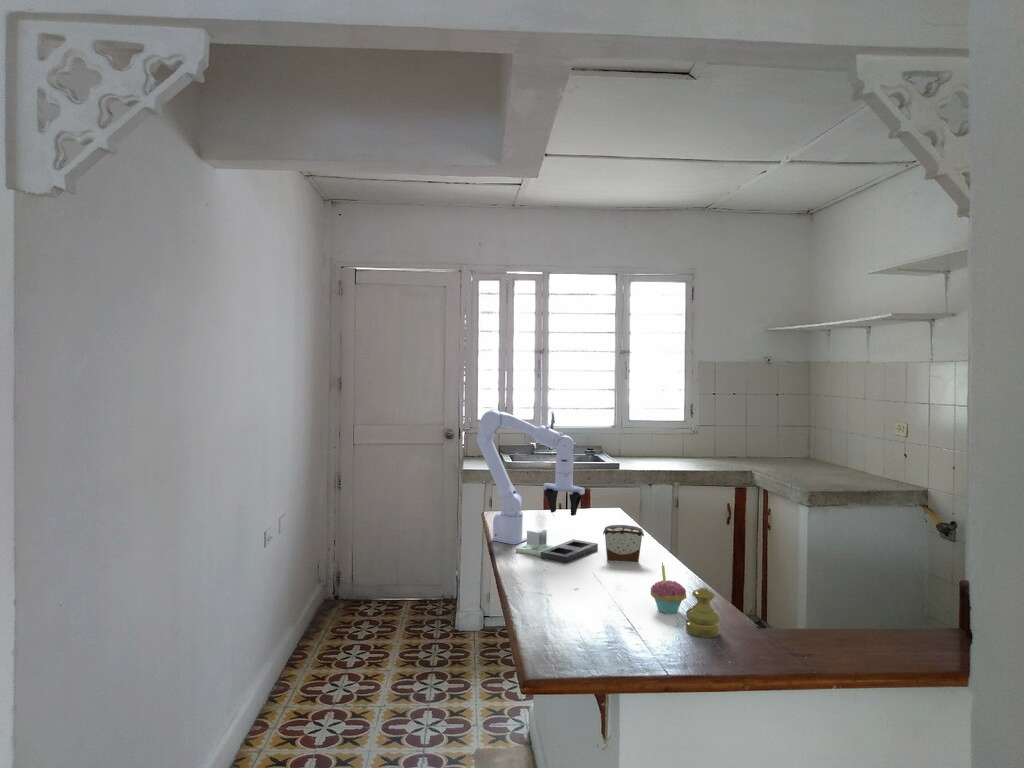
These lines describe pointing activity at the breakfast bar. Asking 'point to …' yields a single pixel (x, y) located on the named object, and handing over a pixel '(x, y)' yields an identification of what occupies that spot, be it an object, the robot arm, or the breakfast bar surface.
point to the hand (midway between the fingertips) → (563, 513)
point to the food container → (623, 543)
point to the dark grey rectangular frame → (569, 551)
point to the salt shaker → (703, 615)
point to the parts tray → (532, 552)
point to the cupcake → (668, 594)
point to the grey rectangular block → (536, 539)
